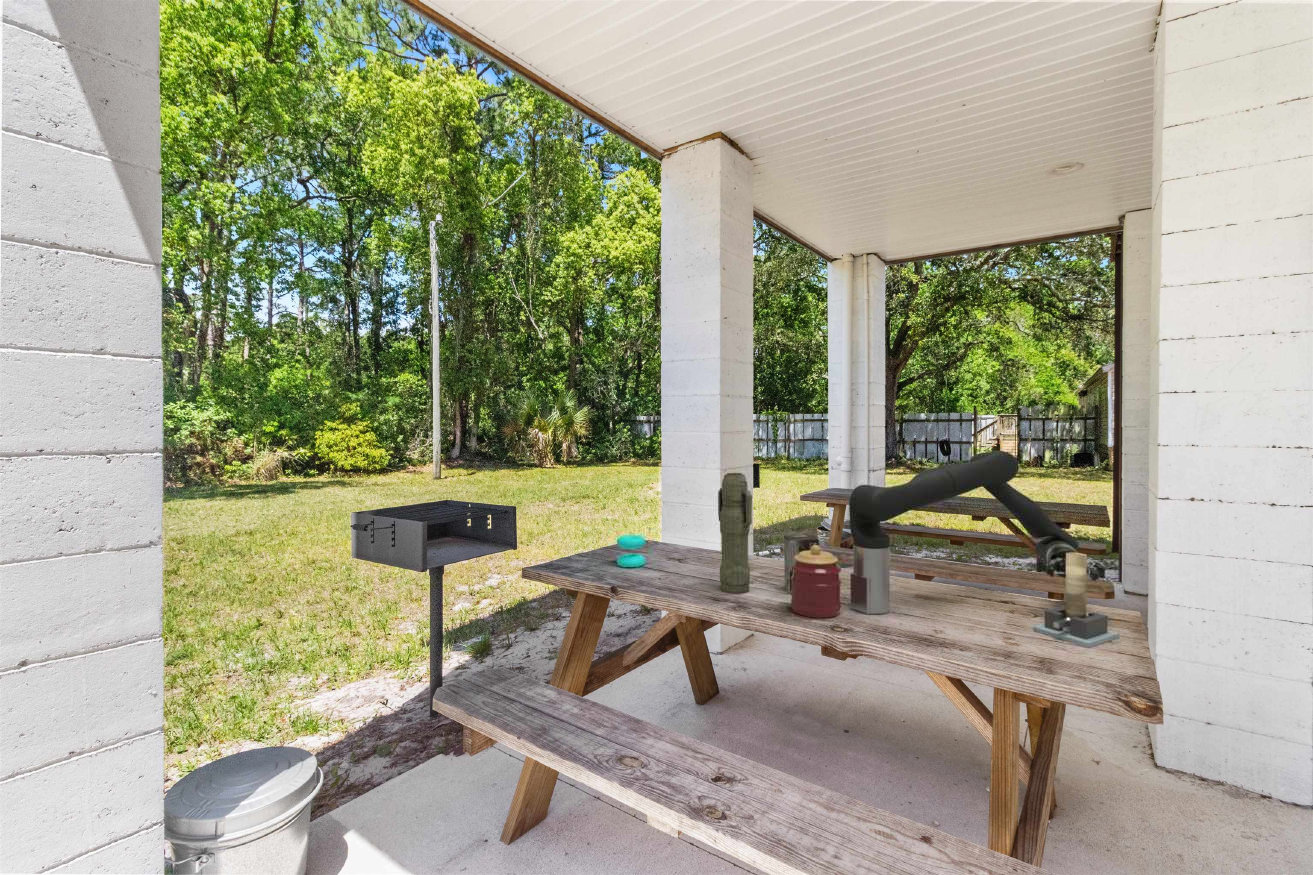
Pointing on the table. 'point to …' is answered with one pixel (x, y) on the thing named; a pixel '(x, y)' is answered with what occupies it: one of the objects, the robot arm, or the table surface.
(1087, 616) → the plunger
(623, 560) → the donuts
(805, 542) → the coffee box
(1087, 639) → the band socket
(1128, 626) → the table surface
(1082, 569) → the birch dowel
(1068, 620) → the plunger
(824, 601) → the canister
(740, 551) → the thermos
